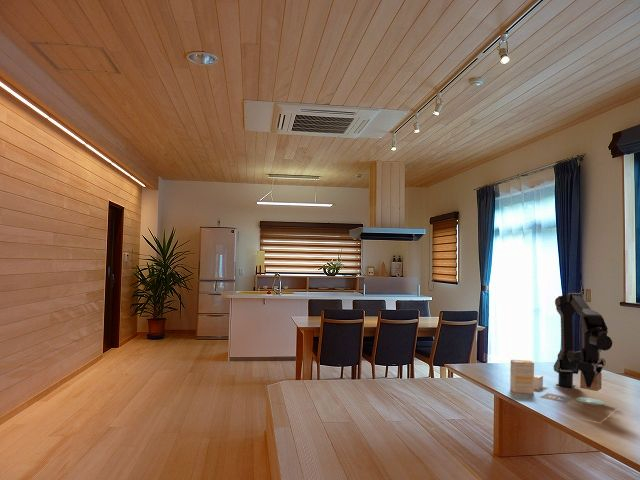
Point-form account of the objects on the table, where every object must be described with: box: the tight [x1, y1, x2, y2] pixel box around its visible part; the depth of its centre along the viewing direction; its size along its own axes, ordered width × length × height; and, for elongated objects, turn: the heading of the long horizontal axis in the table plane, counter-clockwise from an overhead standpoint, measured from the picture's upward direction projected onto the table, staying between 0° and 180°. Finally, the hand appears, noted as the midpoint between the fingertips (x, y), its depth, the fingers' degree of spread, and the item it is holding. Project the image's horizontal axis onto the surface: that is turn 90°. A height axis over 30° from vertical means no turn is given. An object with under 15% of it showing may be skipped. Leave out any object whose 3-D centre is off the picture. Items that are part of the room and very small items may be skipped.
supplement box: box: [509, 359, 535, 395], centre depth 201 cm, size 8×5×13 cm, turn 84°
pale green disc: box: [575, 397, 606, 406], centre depth 190 cm, size 10×10×1 cm
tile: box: [534, 386, 549, 392], centre depth 208 cm, size 9×9×1 cm
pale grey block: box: [534, 373, 544, 391], centre depth 208 cm, size 5×5×5 cm
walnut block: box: [579, 371, 603, 392], centre depth 191 cm, size 6×6×6 cm
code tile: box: [539, 392, 575, 404], centre depth 193 cm, size 10×10×1 cm
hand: (590, 385), depth 191 cm, fingers closed on walnut block, 6 cm apart
